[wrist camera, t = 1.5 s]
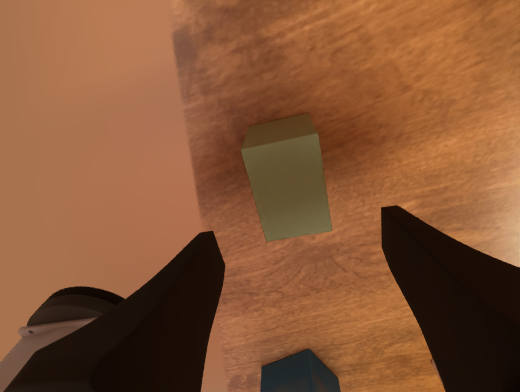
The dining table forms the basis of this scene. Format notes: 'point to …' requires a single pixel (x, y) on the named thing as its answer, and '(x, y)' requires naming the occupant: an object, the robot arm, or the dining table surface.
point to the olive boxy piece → (287, 177)
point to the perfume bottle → (298, 375)
